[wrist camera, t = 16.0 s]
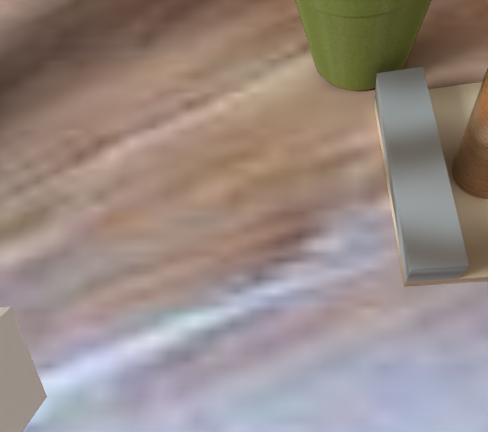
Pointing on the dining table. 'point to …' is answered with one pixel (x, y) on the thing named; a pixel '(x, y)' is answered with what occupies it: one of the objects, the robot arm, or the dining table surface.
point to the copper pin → (474, 149)
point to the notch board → (465, 203)
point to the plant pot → (360, 37)
